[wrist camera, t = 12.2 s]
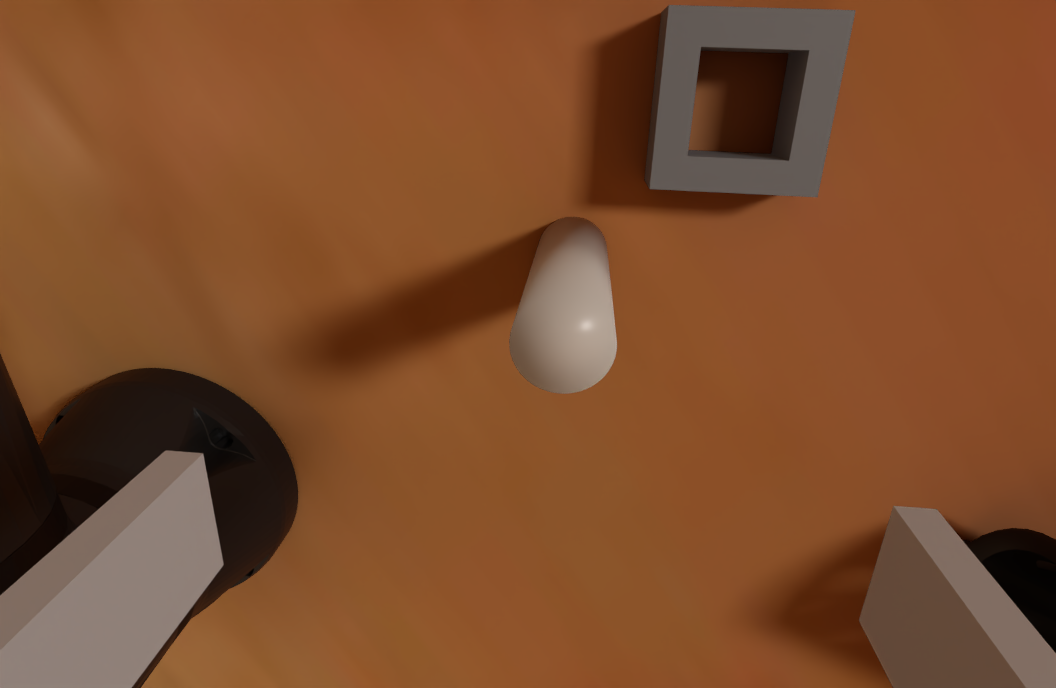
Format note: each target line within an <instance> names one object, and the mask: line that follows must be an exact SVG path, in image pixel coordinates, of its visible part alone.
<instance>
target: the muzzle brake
mask: <svg viewBox="0 0 1056 688" xmlns="http://www.w3.org/2000/svg"><path fill="white" fill-rule="evenodd" d="M963 542H964V543H965V544H966V545H967V547H968V548H969V549H970V550H971V551H972V553H973V554H974V555H975V556H976V557H977V559H978V560H979V561H980V562H981V564H982V565H983V566H984V567H985V568H986V570H987V571H988V572H989V573H990V574H991V576H992V577H993V578H994V579H995V580H996V582H997V583H998V584H999V585H1000V587H1001V588H1002V589H1003V590H1004V591H1005V593H1006V594H1007V595H1008V596H1009V597H1010V599H1011V600H1012V601H1013V602H1014V604H1015V605H1016V606H1017V607H1018V608H1019V610H1020V611H1021V612H1022V613H1023V614H1024V616H1025V617H1026V618H1027V619H1028V620H1029V622H1030V623H1031V624H1032V625H1033V627H1034V628H1035V629H1036V630H1037V631H1038V633H1039V634H1040V635H1041V636H1042V637H1043V639H1044V640H1045V641H1046V642H1047V643H1048V645H1049V646H1050V647H1051V648H1052V650H1053V651H1054V652H1055V653H1056V540H1055V539H1053V538H1051V537H1049V536H1047V535H1045V534H1043V533H1040V532H1036V531H1032V530H1029V529H1017V528H1010V529H1003V530H997V531H994V532H991V533H988V534H985V535H982V536H981V537H979V538H977V539H975V540H974V541H972V542H970V541H968V540H964V541H963Z"/></svg>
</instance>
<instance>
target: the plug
mask: <svg viewBox="0 0 1056 688" xmlns="http://www.w3.org/2000/svg"><path fill="white" fill-rule="evenodd" d="M509 343H510V353H511V356H512V360H513V362H514V364H515V366H516V368H517V369H518V371H519V372H520V373H521V374H522V376H523V377H524V378H525V379H526V380H528V381H529V382H530V383H532V384H533V385H535V386H537V387H538V388H540V389H543V390H546V391H549V392H553V393H574V392H579V391H582V390H585V389H587V388H589V387H591V386H593V385H595V384H596V383H598V382H599V381H600V380H601V379H602V378H603V377H604V376H605V375H606V374H607V372H608V371H609V369H610V368H611V366H612V364H613V362H614V359H615V356H616V350H617V339H616V330H615V320H614V311H613V301H612V292H611V282H610V273H609V263H608V254H607V245H606V241H605V238H604V236H603V234H602V232H601V231H600V229H599V228H598V227H597V226H596V225H595V224H593V223H592V222H590V221H588V220H586V219H584V218H580V217H565V218H562V219H559V220H557V221H555V222H553V223H552V224H551V225H549V226H548V227H547V228H546V230H545V231H544V232H543V234H542V236H541V238H540V241H539V244H538V247H537V250H536V253H535V256H534V260H533V263H532V266H531V269H530V272H529V275H528V279H527V282H526V285H525V288H524V291H523V294H522V298H521V301H520V304H519V307H518V310H517V313H516V317H515V320H514V323H513V326H512V330H511V333H510V341H509Z"/></svg>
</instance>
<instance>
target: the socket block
mask: <svg viewBox="0 0 1056 688" xmlns="http://www.w3.org/2000/svg"><path fill="white" fill-rule="evenodd" d="M854 15H855V10H823V9H788V8H753V7H718V6H683V5H669V6H667V7H666V8H665V9H664V10H663V11H662V12H661V21H660V31H659V40H658V50H657V60H656V70H655V80H654V90H653V100H652V110H651V119H650V129H649V139H648V149H647V159H646V169H645V179H644V180H645V182H646V184H647V185H648V187H649V189H659V190H680V191H700V192H721V193H742V194H762V195H783V196H804V197H818V192H819V187H820V182H821V177H822V172H823V167H824V162H825V157H826V152H827V148H828V143H829V138H830V133H831V128H832V123H833V118H834V113H835V108H836V103H837V99H838V94H839V89H840V84H841V79H842V74H843V69H844V64H845V59H846V55H847V50H848V45H849V40H850V35H851V30H852V25H853V20H854ZM701 50H703V51H733V52H763V53H789V54H788V60H787V66H786V72H785V77H784V83H783V89H782V95H781V101H780V106H779V112H778V118H777V124H776V130H775V135H774V141H773V147H772V153H771V154H766V153H743V152H720V151H697V150H688V148H689V140H690V132H691V124H692V115H693V107H694V99H695V91H696V83H697V75H698V67H699V59H700V51H701Z"/></svg>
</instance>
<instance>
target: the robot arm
mask: <svg viewBox="0 0 1056 688" xmlns="http://www.w3.org/2000/svg"><path fill="white" fill-rule="evenodd" d="M297 504H298V487H297V480H296V475H295V471H294V468H293V465H292V462H291V460H290V457H289V455H288V453H287V451H286V449H285V447H284V445H283V444H282V442H281V440H280V439H279V437H278V436H277V434H276V433H275V431H274V430H273V429H272V428H271V426H270V425H269V424H268V423H267V422H266V421H265V419H264V418H263V417H262V416H261V415H260V414H259V413H258V412H257V411H256V410H254V409H253V408H252V407H251V406H250V405H249V404H247V403H246V402H245V401H243V400H242V399H241V398H239V397H238V396H236V395H235V394H234V393H232V392H230V391H229V390H227V389H225V388H223V387H222V386H220V385H218V384H216V383H214V382H211V381H209V380H207V379H204V378H202V377H199V376H196V375H193V374H189V373H185V372H181V371H176V370H171V369H161V368H144V369H135V370H130V371H125V372H122V373H118V374H116V375H113V376H111V377H109V378H107V379H105V380H103V381H101V382H100V383H98V384H97V385H95V386H93V387H92V388H90V389H88V390H87V391H85V392H84V393H82V394H80V395H79V396H77V397H76V398H74V399H73V400H72V401H70V402H69V403H68V404H67V405H66V406H65V407H64V408H63V409H62V410H61V411H60V412H59V413H58V414H57V416H56V417H55V419H54V420H53V421H52V423H51V424H50V426H49V427H48V429H47V431H46V433H45V435H44V438H43V440H42V442H41V443H40V444H39V445H38V442H37V440H36V438H35V435H34V433H33V430H32V428H31V426H30V423H29V421H28V418H27V416H26V414H25V411H24V409H23V407H22V404H21V402H20V399H19V397H18V395H17V392H16V390H15V387H14V385H13V383H12V380H11V378H10V376H9V373H8V371H7V368H6V366H5V364H4V361H3V359H2V356H1V354H0V688H141V687H142V685H143V684H144V682H145V681H146V680H147V678H148V677H149V675H150V674H151V673H152V671H153V670H154V668H155V667H156V666H157V664H158V663H159V662H160V660H161V659H162V657H163V656H164V655H165V653H166V652H167V650H168V649H169V648H170V646H171V645H172V643H173V642H174V641H175V639H176V638H177V637H178V635H179V634H180V633H181V631H182V630H183V629H184V627H185V626H186V625H187V623H188V622H189V621H190V619H191V618H193V617H194V616H196V615H197V614H199V613H200V612H201V611H203V610H204V609H205V608H207V607H208V606H209V605H211V604H212V603H213V602H214V601H215V600H217V599H218V598H219V597H220V596H221V595H222V594H223V593H224V592H226V591H227V590H228V589H230V588H232V587H234V586H236V585H238V584H240V583H242V582H244V581H246V580H247V579H248V578H250V577H251V576H253V575H254V574H255V573H257V572H258V571H259V570H260V569H261V568H262V567H263V566H264V565H265V564H266V563H267V562H268V561H269V560H270V558H271V557H272V556H273V554H274V553H275V551H276V550H277V548H278V547H279V545H280V544H281V543H282V541H283V540H284V538H285V537H286V535H287V534H288V532H289V530H290V528H291V526H292V524H293V521H294V518H295V515H296V510H297ZM859 622H860V624H861V626H862V628H863V630H864V632H865V634H866V636H867V638H868V639H869V641H870V643H871V645H872V647H873V649H874V651H875V653H876V655H877V657H878V659H879V661H880V663H881V665H882V667H883V669H884V671H885V673H886V675H887V677H888V679H889V681H890V683H891V685H892V687H893V688H1056V653H1055V652H1054V651H1053V650H1052V648H1051V647H1050V646H1049V645H1048V643H1047V642H1046V641H1045V640H1044V639H1043V637H1042V636H1041V635H1040V634H1039V633H1038V631H1037V630H1036V629H1035V628H1034V627H1033V625H1032V624H1031V623H1030V622H1029V620H1028V619H1027V618H1026V617H1025V616H1024V614H1023V613H1022V612H1021V611H1020V610H1019V608H1018V607H1017V606H1016V605H1015V604H1014V602H1013V601H1012V600H1011V599H1010V597H1009V596H1008V595H1007V594H1006V593H1005V591H1004V590H1003V589H1002V588H1001V587H1000V585H999V584H998V583H997V582H996V580H995V579H994V578H993V577H992V576H991V574H990V573H989V572H988V571H987V570H986V568H985V567H984V566H983V565H982V564H981V562H980V561H979V560H978V559H977V557H976V556H975V555H974V554H973V553H972V551H971V550H970V549H969V548H968V547H967V545H966V544H965V543H964V542H963V541H962V539H961V538H960V537H959V536H958V534H957V533H956V532H955V531H954V530H953V528H952V527H951V526H950V525H949V524H948V522H947V521H946V520H945V519H944V517H943V516H942V515H941V514H940V513H939V511H938V510H937V509H926V508H913V507H900V506H893V509H892V512H891V516H890V519H889V522H888V526H887V529H886V532H885V535H884V539H883V542H882V545H881V549H880V552H879V555H878V559H877V562H876V565H875V568H874V572H873V575H872V578H871V582H870V585H869V588H868V591H867V595H866V598H865V601H864V605H863V608H862V611H861V615H860V618H859Z"/></svg>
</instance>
